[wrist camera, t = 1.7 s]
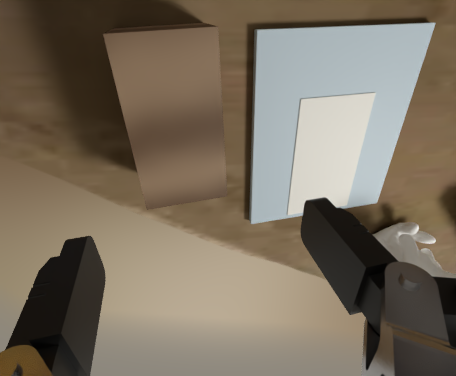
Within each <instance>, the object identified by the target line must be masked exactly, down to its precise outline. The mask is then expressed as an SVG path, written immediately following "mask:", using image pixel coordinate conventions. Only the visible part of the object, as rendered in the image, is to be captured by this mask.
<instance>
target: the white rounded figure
mask: <svg viewBox="0 0 456 376" xmlns="http://www.w3.org/2000/svg"><path fill="white" fill-rule="evenodd" d="M418 229H419V227H418V225H417V224H416V223H414V222H406V223H398V224H396V225H392V226H390V227H388V228H385V229H383V230H381V231H379V232H378V233H375V234H372V235H373V236H374V237H375V238H376V239H377V240H378V241H379V242H380V243H381V244H382V245H383V246H384V247H385V248H386V249H387V250H388V251H389V252H390V253H391V254H392V255H393V256H394V257H395V258H396V259H397V260H398V261H399V262H407V263H411V264H414V265H416V266H418V267H420V268H422V269H424V270H425V271H427V272H428V273H429V274H430V275H431V276H433V277H447V278H456V274H452V273H449V272H446V271H444V270H443V269H442V268H441V266H440V265H439V263H438V262H437V261H435V259H434V256H433V254H432V252H431V250H429V249H427V248H424V249H421V250H418V247H417V245H416V243H415V241H418V242H421V243H426V244H433V243H435V242H436V240H435V238H434V237H433V236H431V235H430V234H428V233H426V232H424V231H418Z"/></svg>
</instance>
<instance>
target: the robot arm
mask: <svg viewBox="0 0 456 376" xmlns="http://www.w3.org/2000/svg"><path fill="white" fill-rule="evenodd" d="M301 238H302V241H303V243H304V245H305V247H306V248H307V250H308V251H309V253H310V255H311V256H312V258H313V259H314V261H315V262H316V264H317V265H318V267H319V268H320V270H321V271H322V273H323V274H324V276H325V278H326V279H327V281H328V282H329V284H330V285H331V287H332V288H333V290H334V291H335V293H336V294H337V296H338V297H339V299H340V301H341V302H342V304H343V305H344V307H345V308H346V310H347V311H348V313H349V314H350V315H352V314H356V313H359V312H362V313H363V314H364V316H365V317H366V320H365V323H364V340H363V359H362V376H456V278H447V277H433V276H431V275H430V274H429V273H428V272H427V271H425V270H424V269H422V268H420V267H418V266H416V265H414V264H411V263H407V262H399V261H398V260H397V259H396V258H395V257H394V256H393V255H392V254H391V253H390V252H389V251H388V250H387V249H386V248H385V247H384V246H383V245H382V244H381V243H380V242H379V241H378V240H377V239H376V238H375V237H374V236H373V235H372V234H371V233H369V231H368V230H367V229H366V228H365V227H364V226H363V225H361V223H360V222H359V221H358V220H357V219H356V218H355V217H354V216H353V214H351V213H349V212H347V211H345V210H344V209H342V208H336V207H335V206H334V205H333V204H332V203H331V202H330V201H329V200H328V199H327V198H326V197H323V198H317V199H311V200H306V202H305V204H304V210H303V217H302V224H301ZM104 287H105V270H104V267H103V263H102V261H101V258H100V255H99V253H98V251H97V248H96V245H95V243H94V240H93V238H92V237H91V236H86V237H80V238H74V239H68V240H66V241H65V243H64V245H63V248H62V251H61V253H60V256H58V257H52V258H50V259H49V260H48V261H47V263H46V264H45V265H44V266H43V267H42V268H41V269H40V270H39V272H38V274H37V277H36V279H35V281H34V284H33V288H31V291H30V293H29V296H28V300H26V303H25V305H24V307H23V310H22V312H21V314H20V317H19V319H18V321H17V324H16V326H15V329H14V331H13V333H12V336H11V338H10V340H9V343H8V346H7V347H6V349H5V350H4V351H2V352H1V353H0V376H90V372H91V366H92V360H93V354H94V347H95V342H96V336H97V329H98V323H99V317H100V311H101V305H102V299H103V293H104Z"/></svg>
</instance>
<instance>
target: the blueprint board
mask: <svg viewBox="0 0 456 376" xmlns="http://www.w3.org/2000/svg"><path fill="white" fill-rule="evenodd" d="M434 26H435V23H405V24H380V25H354V26H328V27H303V28H277V29H254V66H253V103H252V140H251V177H250V214H249V221H250V223H251V224H255V223H261V222H267V221H273V220H279V219H284V218H290V217H296V216H302V215H303V210H304V204H305V202H306V200H311V199H317V198H323V197H326V198H327V199H328V200H329V201H330V202H331V203H332V204H333V205H334V206H335V207H336V208H342V209H344V208H350V207H356V206H362V205H368V204H374V203H377V201H378V198H379V195H380V192H381V189H382V186H383V183H384V180H385V177H386V174H387V171H388V168H389V164H390V161H391V158H392V155H393V152H394V149H395V146H396V143H397V140H398V137H399V134H400V131H401V128H402V125H403V122H404V118H405V115H406V112H407V109H408V106H409V103H410V100H411V97H412V94H413V91H414V88H415V85H416V82H417V79H418V76H419V72H420V69H421V66H422V63H423V60H424V57H425V54H426V51H427V48H428V45H429V42H430V39H431V36H432V33H433V29H434Z"/></svg>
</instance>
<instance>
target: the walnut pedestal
mask: <svg viewBox="0 0 456 376" xmlns="http://www.w3.org/2000/svg"><path fill="white" fill-rule="evenodd" d="M103 36H104V40H105V44H106V48H107V52H108V56H109V60H110V64H111V68H112V72H113V76H114V80H115V84H116V88H117V92H118V96H119V100H120V104H121V108H122V112H123V116H124V120H125V124H126V128H127V132H128V136H129V140H130V144H131V148H132V152H133V156H134V160H135V164H136V168H137V172H138V176H139V180H140V184H141V188H142V192H143V196H144V200H145V204H146V208H147V210H148V209H154V208H160V207H166V206H172V205H178V204H184V203H190V202H196V201H201V200H207V199H213V198H219V197H225V196H227V182H226V164H225V145H224V127H223V109H222V90H221V72H220V54H219V35H218V26H214V25H210V24H206V23H192V24H176V25H160V26H143V27H127V28H113V29H111V30H109V31H108V32H106V33H104V34H103Z"/></svg>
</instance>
